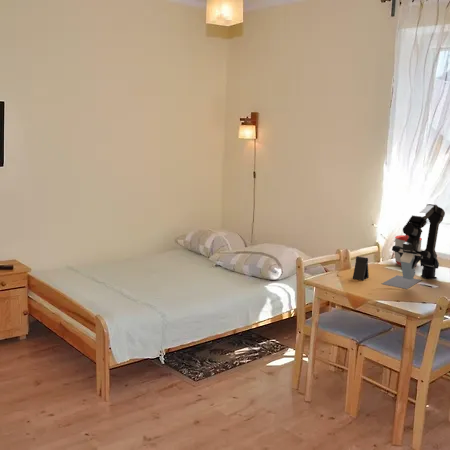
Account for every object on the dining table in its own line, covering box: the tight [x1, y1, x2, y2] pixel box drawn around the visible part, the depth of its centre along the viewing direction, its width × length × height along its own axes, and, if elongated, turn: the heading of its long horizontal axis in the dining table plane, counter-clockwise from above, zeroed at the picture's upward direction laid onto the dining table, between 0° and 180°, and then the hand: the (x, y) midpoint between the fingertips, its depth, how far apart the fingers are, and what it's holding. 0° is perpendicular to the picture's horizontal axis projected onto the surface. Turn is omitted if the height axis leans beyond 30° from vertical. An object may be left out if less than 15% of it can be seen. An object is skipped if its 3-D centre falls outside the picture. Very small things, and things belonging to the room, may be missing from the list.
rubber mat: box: [381, 274, 422, 290], centre depth 299 cm, size 22×14×1 cm, turn 141°
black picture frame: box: [352, 256, 370, 281], centre depth 305 cm, size 9×6×12 cm, turn 145°
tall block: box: [400, 253, 416, 280], centre depth 285 cm, size 5×5×14 cm
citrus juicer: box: [394, 234, 422, 267], centre depth 334 cm, size 16×17×20 cm
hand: (407, 267), depth 285 cm, fingers closed on tall block, 5 cm apart
